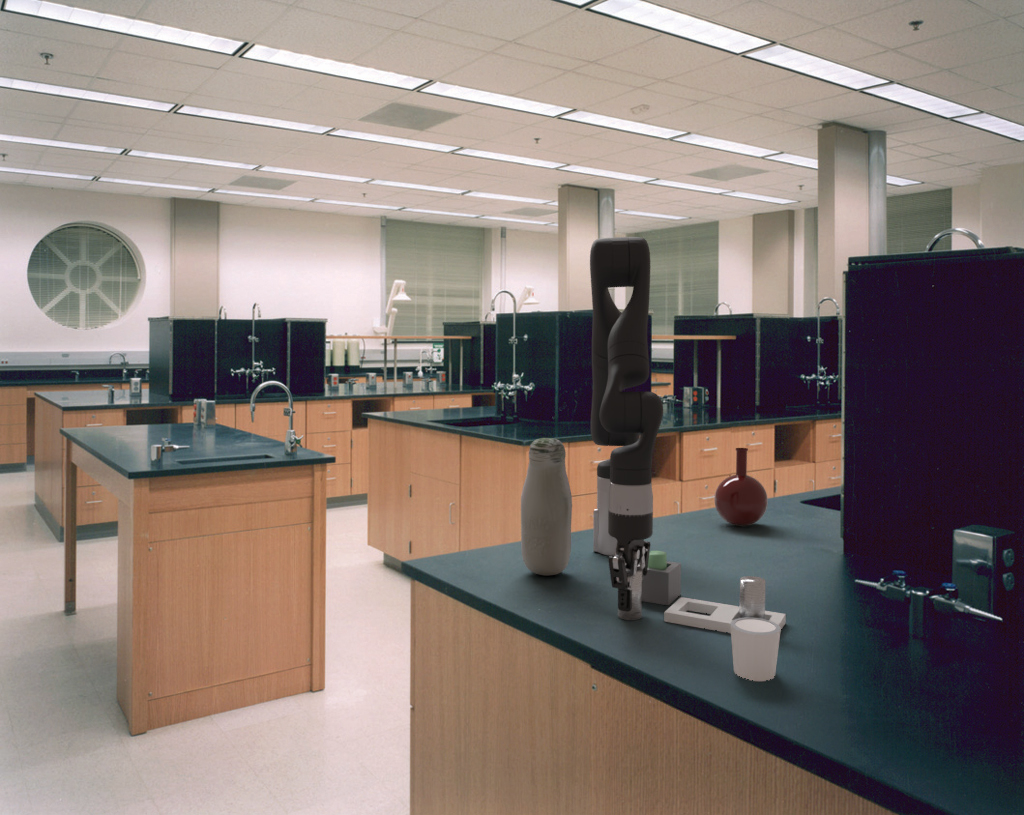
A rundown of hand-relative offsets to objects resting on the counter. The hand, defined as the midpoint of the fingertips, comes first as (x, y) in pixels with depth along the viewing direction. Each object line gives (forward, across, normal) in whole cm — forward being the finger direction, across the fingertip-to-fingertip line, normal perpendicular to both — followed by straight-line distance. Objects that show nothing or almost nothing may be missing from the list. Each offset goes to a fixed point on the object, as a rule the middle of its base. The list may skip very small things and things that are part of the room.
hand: (629, 605), depth 134 cm
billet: (+2, 0, 0) cm, 2 cm away
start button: (0, +12, 0) cm, 12 cm away
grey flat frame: (+2, +5, -15) cm, 16 cm away
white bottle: (+2, +15, +24) cm, 28 cm away
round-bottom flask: (+2, +77, 0) cm, 77 cm away
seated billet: (+2, +5, -20) cm, 20 cm away
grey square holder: (+2, +12, 0) cm, 12 cm away
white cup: (+2, -13, -24) cm, 27 cm away
